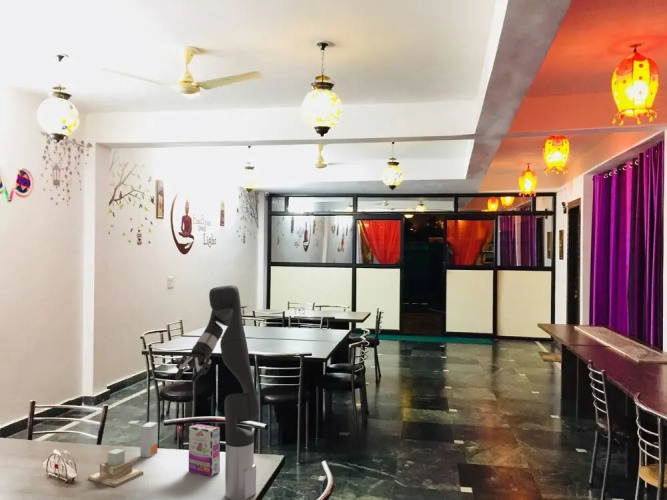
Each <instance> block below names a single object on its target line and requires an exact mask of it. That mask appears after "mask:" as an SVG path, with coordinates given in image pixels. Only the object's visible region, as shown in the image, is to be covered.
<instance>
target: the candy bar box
mask: <svg viewBox="0 0 667 500" xmlns="http://www.w3.org/2000/svg"><path fill="white" fill-rule="evenodd" d="M220 455H221V427H219V426H212V425H209V424H208V425H206V424H201V423H195V424H194V425H193V424H192V425H190V426H188V472H191V473H194V474H198V475H203V476H208V477H213V476H215V475H217V474H219V473H220V472H221V469H220V468H221V467H220V466H221V465H220V464H221V463H220V461H221V458H220V457H221V456H220Z"/></svg>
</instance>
